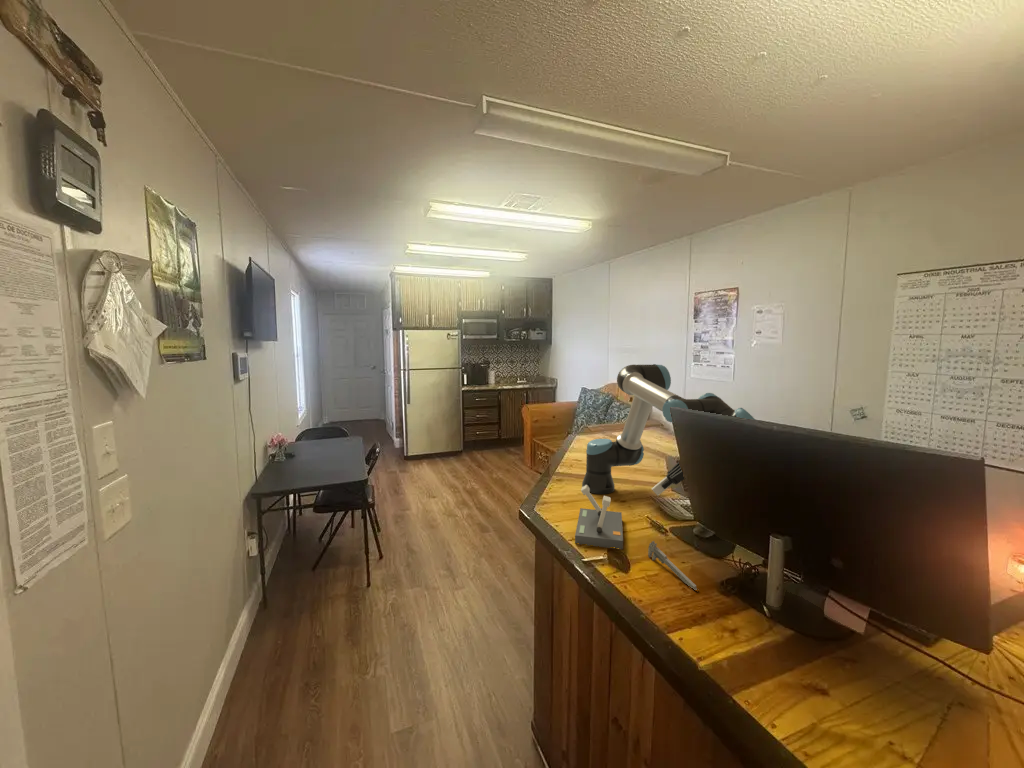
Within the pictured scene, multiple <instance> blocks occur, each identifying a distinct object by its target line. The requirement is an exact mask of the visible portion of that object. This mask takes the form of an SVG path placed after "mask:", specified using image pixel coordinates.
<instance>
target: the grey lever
mask: <svg viewBox="0 0 1024 768" xmlns="http://www.w3.org/2000/svg"><path fill="white" fill-rule="evenodd" d="M611 501H612V500H611V496H607V495H603V497H602V501H601V502H602V503H601V504H602V507H601V509H602V511H601V515H600V519H599V522H598V524H597V532H598V533H601V532H602V525H603V522H604V518H605V514H606V511H608V510H607V509H608V508H610V505H611Z"/></svg>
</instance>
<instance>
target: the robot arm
mask: <svg viewBox="0 0 1024 768" xmlns="http://www.w3.org/2000/svg"><path fill="white" fill-rule="evenodd" d="M671 378H672V377H671V374H670V372H669V369H668V368H667V366H665V365H663V364H655V363H653V364H630V365H629V364H628V365H626V366H624V367H623V368H621V370H619V372H618V373H617V377H616V384H617V387H618V388H619V390H621V391H622V392H623V393H625V394H626V395H628V396H633V399H632V402H631V406H630V409H629V411H628V414H627V417H626V420H625V423H624V427H623V429H622V432H621V433H619V434H618V435H617V437H616V439H615V441H612V439H610V438H594V439H592V440H590V441H588V442H587V443H586V464H585V465H586V466H585V468H586V470H585V471H586V472H585V474H584V477H583V479H582V483H581V485H582V486H581V488H582V487H583V486H585V485H588V487H589V488H590V491H589V492H591V494H594V495H595V494H596V495H608V494H611V493H613V492H614V491H615V487H616V486H615V483H614V479H613V476H612V468H613V467H625V466H626V467H630V466H635V465H638V464H640V463H642V461H643V459H644V455H645V452H644V450H645V449H644V448H645V447H644V446H643V443H642V441H641V438H642V435H643V433H644V430H645V427H646V425H647V422H648V419H649V417H650V414H651V411H652V408H653V407H654V408H655V409H657V410H659V411H660V412H662V415H663V417H664V418H665V420H666V421H667V422H669V423H673V422H672V418H671V414H670V407H680V408H686V409H692V410H698V411H704V412H710V413H716V414H722V415H728V416H734V417H740V418H746V419H753V420H756V419H755V417H754V416H753V415H751V414H750V413H749V412H748V411H747V410H746V409H744V407H738V408H737V409H733V408H732V407H731V406H730V405H729V404H728V403H726V402H725V401H724V400H723V399H722V398H721V397H720V396H717V395H716V394H714V393H713V392H706V393H705V394H702V395H700V396H699V397H698V398H690V399H689V398H684V397H682V396H679V395H678V394H676V393H674V392H671V390H669V389H670V387H671V384H672V382H671V381H672V379H671ZM684 480H685V479H684V477H683V472H682V470H681V467H680V465H679V461H678V462H677V463H676V464H675V465H674V466H673V467H672V468H670V469H669V470H668V471H667V475H665V477H664V478H662V479H661V480H660V481H659V482H657V484H655V485H654V486H653V487H651V490H652V491H653V493H654V494H656V496H657V497H659V495H661V494H662V493H664V492H665V491H666V490H667V489H669V487H670V486H672V485H678V484H679V483H681V482H682V481H684Z"/></svg>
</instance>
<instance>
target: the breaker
mask: <svg viewBox="0 0 1024 768" xmlns="http://www.w3.org/2000/svg"><path fill="white" fill-rule="evenodd" d="M589 491H590V488H589V487H588V485H585V486H583V487H582V486H581V489H580V492H581V493H582V495H583V496H586V497H587V499H588V501H589V502H590V503H591V505H592V507H593V508H594V510H596V511H597V512H598V516H600V515H601V511H602V507H600V506H599V504H598V503H597V501H596V499H595V498H594V496H593V495H592V493H590V492H589Z"/></svg>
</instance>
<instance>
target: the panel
mask: <svg viewBox="0 0 1024 768" xmlns="http://www.w3.org/2000/svg"><path fill="white" fill-rule="evenodd" d="M578 513H579V514H578V518H577V519H578V520H577V523H576V529H575V534H574V544H575V543H579V544H578V545H582V544H587V545H586V546H590V545H593V546H592V547H598V546H599V547H600V548H607V549H611V548H610V547H615V548H619V549H618V550H623V549H624V535H623V533H624V532H623V517H622V512H621V511H613V510H612V511H611V510H610V511H609V510H606V514H605V518H604V522H603V525H602V532H601V533H598V532H597V524H598V522H599V519H600V516H598V512H597V511H596V509H590V508H589V509H588V508H582V507H581V508H580V509H579V512H578ZM615 548H614V549H615Z"/></svg>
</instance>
